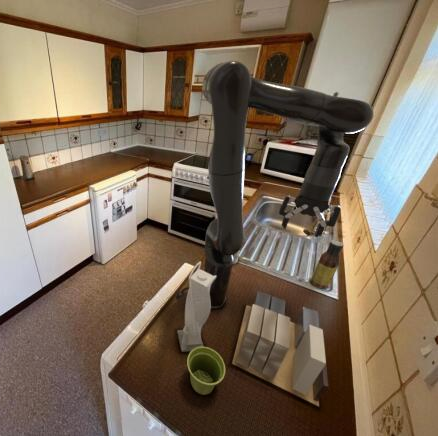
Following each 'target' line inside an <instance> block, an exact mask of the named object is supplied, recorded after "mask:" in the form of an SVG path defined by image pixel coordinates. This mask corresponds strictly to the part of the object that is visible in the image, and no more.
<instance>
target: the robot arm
mask: <svg viewBox="0 0 438 436" xmlns="http://www.w3.org/2000/svg"><path fill="white" fill-rule="evenodd" d="M201 85H202V86H201V91H202V94H203V97H204V99H205V100H206V102H208V103H209V104H210V105H211V111H212V122H213V138H212V139H213V140H212V144H211V146H210V147H211V148H210V152H209V156H208V165H207V166H208V168H207V170H208V187H209V192H210V195H211V199H212V203H213V206H214V209H215V213H216V218H215V219H214V220H212V221H211V222H210V223H209V225H208V226H207V228H206V232H205V239H204V241H205V242H204V250H203V251H204V257H205V258H204V263H203V264H204V265H203V269H202V270H203V271H205V272H207V273H209V274H211V275H213V276H215V275H216V279H215V280H214V281H213V283H212V284H211V287H210V293H209V294H210V300H211V309H214V310H215V309H220V308H222V307H223V306H224V305H225V302H226V299H227V292H228V288H229V285H230V281H231V280H230V279H231V275H232V271H233V267H234V264H233V263H234V258H233V255H234V254H236V253H237V252H238V251H239V250H240V251H241V249H242V247H243V245H244V242H245V230H244V229H245V228H244V214H243V212H244V210H243V209H244V186H245V173H246V171H245V170H246V160H245V159H246V128H247V127H246V126H247V117H248V113H249V109H253V110H258V111H260V112H264V113H267V114H270V115H273V116H276V117H279V118H283V119H285V120H289V121H292V122H297V123H300V124H305V125H313V126H318V131H317V140H316V141H317V143H316V149H315V152H314V154H313V157H312V160H311V163H310V164H309V166H308V168H307V170H306V172H305V175H304V178H303V181H302V184H301V187H300V190H299V192H298V195H297V196H296V197H294V196H290V194H285V195H284V198H283V201H282V203H281V205H280V208H279V211H278V214H279V215H280V216H282V217H283V219H282V221H281V227H282V229H284V230H286V229H287V228H288V227H287V226H288V224H289V221H290V218H291V217H293V216H295V215H298V214H299V213H300V214H301V215H303V216H304V215H305V216H309V217H317V220H318V222H319V223H318V225H317V227H316V229H315V231H314V235H313V236H314V237H315V238H318V237H321V236H322V235H323V232H324V230H325V228H326V227H331V228H334V227H335V226H336V223H337V221H338V218H339V215H340V213H341V210H342V209H341V206H340V205H339V204H335V205H334V204H330V200H331V198H332V196H333V193H334V191H335V189H336V186H337V184H338V182H339V180H340V178H341V173H342V170H343V167H344V165H345V163H346V161H347V158H348V156H349V153H350V148H351V147H350V145H348V143H346V142H345V141H344V136H345V135H344V134H355V133H358V132H361V131H363V130H364V129H366V128H367V127H368V126H369V125H370V124H371V123H372V121H373V119H374V115H375V114H374V109H373V107H372V106H371V104H370V103H368V102H366V101H364V100H360V99H354V98H348V97H341V96H334V95H331V94H327V93H326V92H325V93H324V92H322V91H318V90H314V89H311V88H306V87H301V86H297V85H290V84H284V83H277V82H272V81H267V80H264V79H259V78H256V77H253V76H251V73H250V70H249V68H248V67H247V65H245V64H244V63H243V62H240V61H238V60H229V61H224V62H220V63H218V64H216V65H214V66H212V68H210V69H209V70H208V71H207V72H206V74H205V75H204V78H203V80H202V84H201ZM292 203H294V206H293V207H292V208H290V209H289V210H288V211H287V210H286V208H287V206H288V205H290V204H292ZM327 210H329V212H330V213H331V214H330V217H329V220H328V219H327V220H326V219H325V217H324V214H323V213H324V212H325V211H327ZM189 287H190V286H186V287H184V288H182V289H181V291H178V293H176V294H175V296H174V298H175V299H176V300H178V299H179V298H181V297H182V295H183V293H184V292H185V291H188V290H189Z"/></svg>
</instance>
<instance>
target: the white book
mask: <svg viewBox="0 0 438 436" xmlns="http://www.w3.org/2000/svg"><path fill="white" fill-rule="evenodd" d="M325 356H326V349H325V338H324V330H323V329H322V328H320V327H319V328H317V327H314V326H312V325H309V326H308V328H307V330H306V332H305V334H304V336H303V338H302V340H301V342H300V344H299V346H298V348H297V349H296V351H295V353H294V355H293V383H292V389H294V390H296V391H298V392H300V393H302V394H304V395H306V393H307V392H308V390H309V389H310V387H311V386H312V384H313V383H314V381H315V380H316V378H317V377H318V375H319V373H320V372H321V370H322V369H323V367H324V366H325V364H326V365H327V359H326V358H325Z"/></svg>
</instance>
